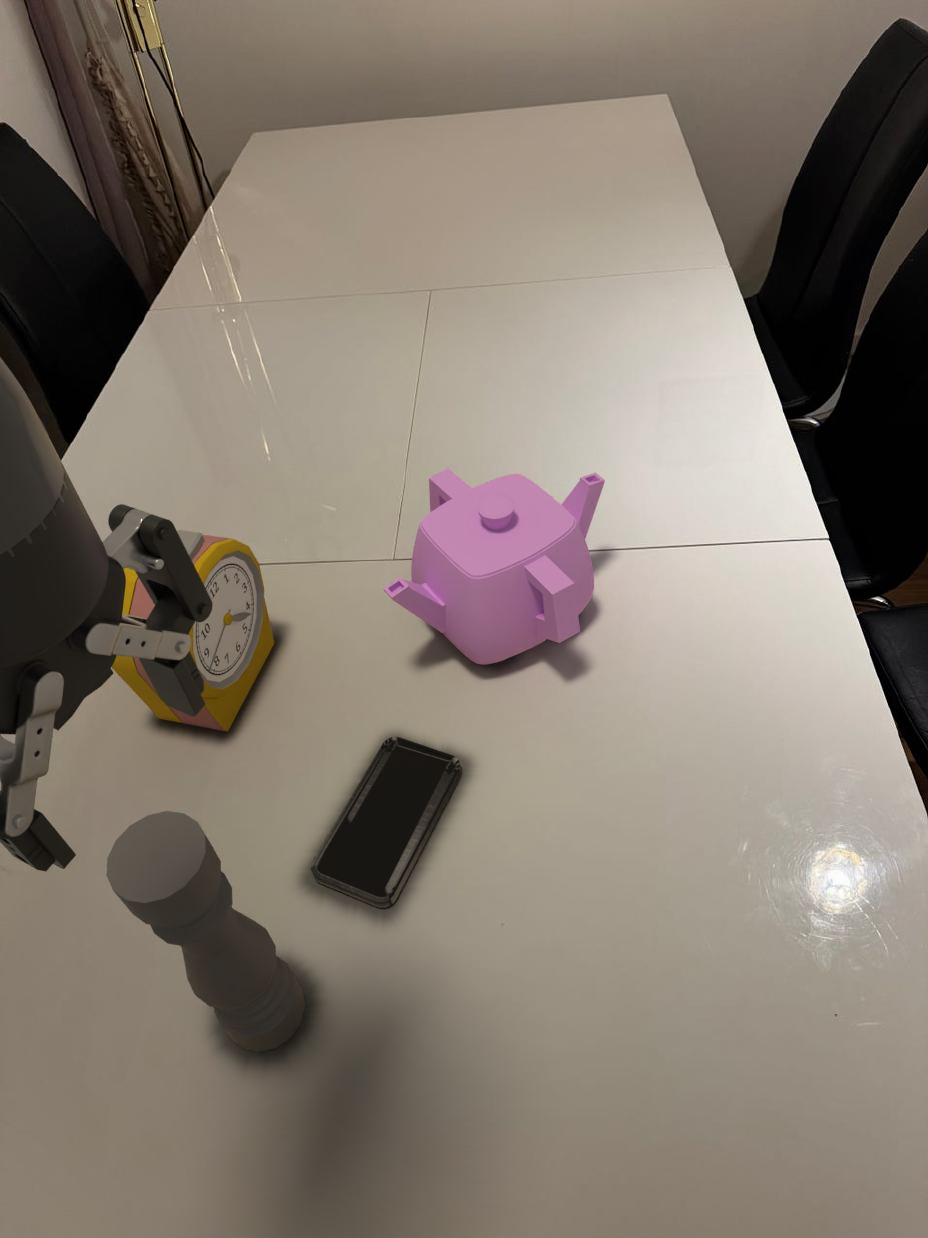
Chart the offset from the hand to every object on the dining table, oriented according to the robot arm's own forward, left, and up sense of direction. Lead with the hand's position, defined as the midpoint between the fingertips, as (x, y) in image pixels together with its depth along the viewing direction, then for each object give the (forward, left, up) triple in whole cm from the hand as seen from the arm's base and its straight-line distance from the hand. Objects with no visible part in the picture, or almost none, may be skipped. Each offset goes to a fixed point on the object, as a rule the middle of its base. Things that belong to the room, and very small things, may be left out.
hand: (123, 776), depth 41 cm
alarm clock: (+25, +28, -37) cm, 53 cm away
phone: (+19, +4, -37) cm, 42 cm away
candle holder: (+1, +4, -37) cm, 38 cm away
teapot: (+45, +6, -37) cm, 59 cm away
